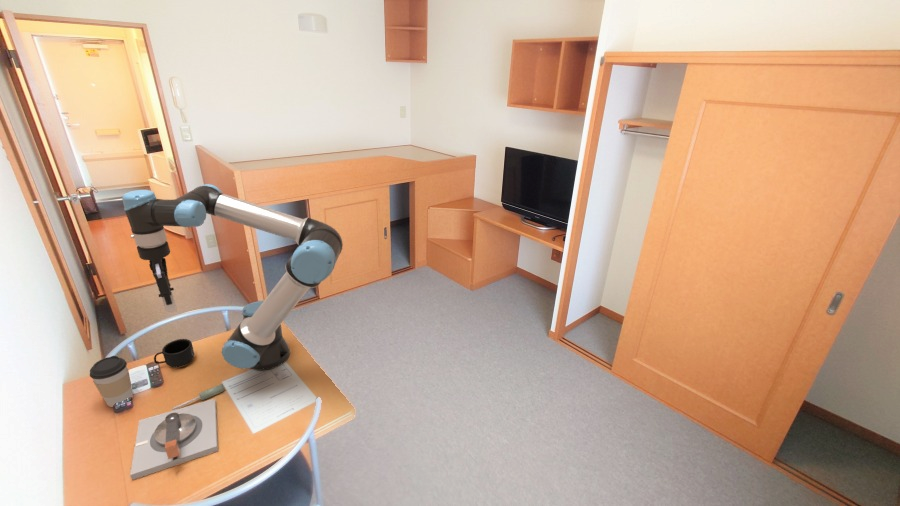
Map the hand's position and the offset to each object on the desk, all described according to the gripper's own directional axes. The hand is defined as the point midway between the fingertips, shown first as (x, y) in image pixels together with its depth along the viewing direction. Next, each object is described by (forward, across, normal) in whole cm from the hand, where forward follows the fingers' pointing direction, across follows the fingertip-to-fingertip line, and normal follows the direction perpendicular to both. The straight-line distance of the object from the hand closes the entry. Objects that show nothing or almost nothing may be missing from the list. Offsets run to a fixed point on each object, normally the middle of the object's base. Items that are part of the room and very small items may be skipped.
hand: (171, 311), depth 127 cm
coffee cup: (+29, -2, -20) cm, 35 cm away
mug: (+29, -13, -4) cm, 32 cm away
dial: (+27, +27, -5) cm, 38 cm away
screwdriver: (+28, +10, +2) cm, 30 cm away
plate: (+29, +24, -5) cm, 38 cm away
